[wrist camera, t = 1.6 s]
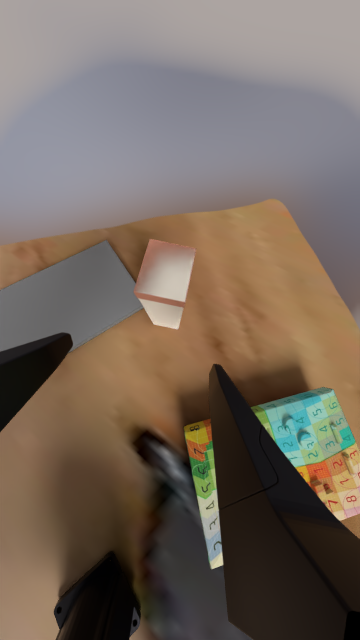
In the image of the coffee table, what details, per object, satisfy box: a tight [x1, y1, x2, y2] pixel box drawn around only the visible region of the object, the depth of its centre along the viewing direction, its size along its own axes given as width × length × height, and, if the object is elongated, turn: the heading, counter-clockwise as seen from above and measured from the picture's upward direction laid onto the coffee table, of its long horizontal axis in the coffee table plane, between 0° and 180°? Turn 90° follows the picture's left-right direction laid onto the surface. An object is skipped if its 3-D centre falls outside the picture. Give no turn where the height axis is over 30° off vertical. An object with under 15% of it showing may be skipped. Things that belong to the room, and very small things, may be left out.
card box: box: [134, 239, 196, 329], centre depth 17 cm, size 5×4×12 cm
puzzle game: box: [183, 387, 360, 569], centre depth 17 cm, size 12×5×20 cm
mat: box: [0, 240, 144, 353], centre depth 22 cm, size 24×14×1 cm, turn 124°
